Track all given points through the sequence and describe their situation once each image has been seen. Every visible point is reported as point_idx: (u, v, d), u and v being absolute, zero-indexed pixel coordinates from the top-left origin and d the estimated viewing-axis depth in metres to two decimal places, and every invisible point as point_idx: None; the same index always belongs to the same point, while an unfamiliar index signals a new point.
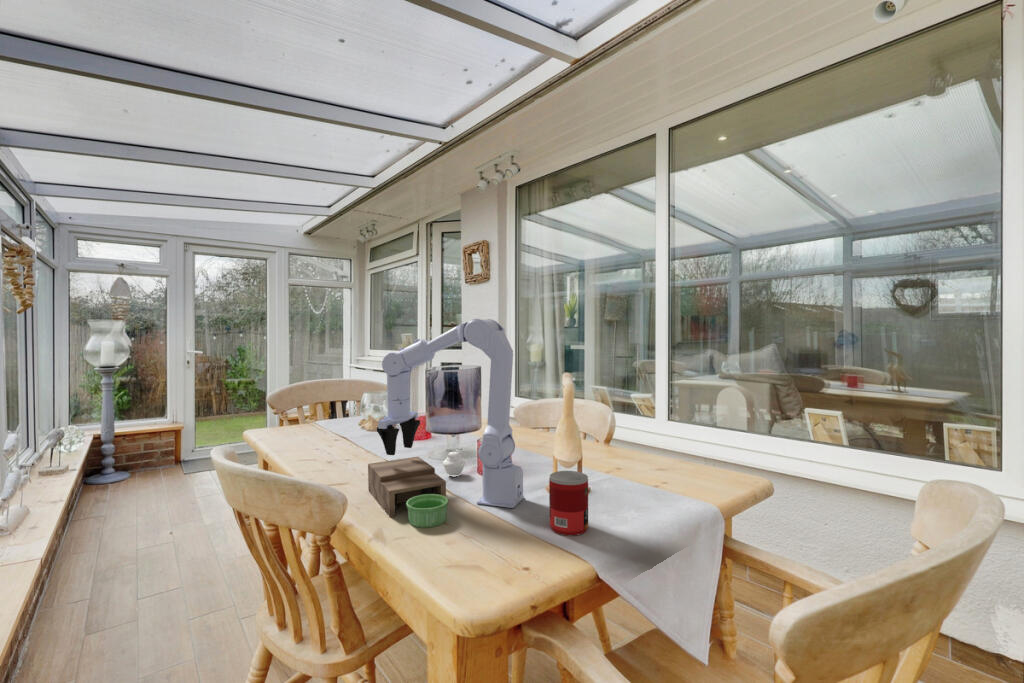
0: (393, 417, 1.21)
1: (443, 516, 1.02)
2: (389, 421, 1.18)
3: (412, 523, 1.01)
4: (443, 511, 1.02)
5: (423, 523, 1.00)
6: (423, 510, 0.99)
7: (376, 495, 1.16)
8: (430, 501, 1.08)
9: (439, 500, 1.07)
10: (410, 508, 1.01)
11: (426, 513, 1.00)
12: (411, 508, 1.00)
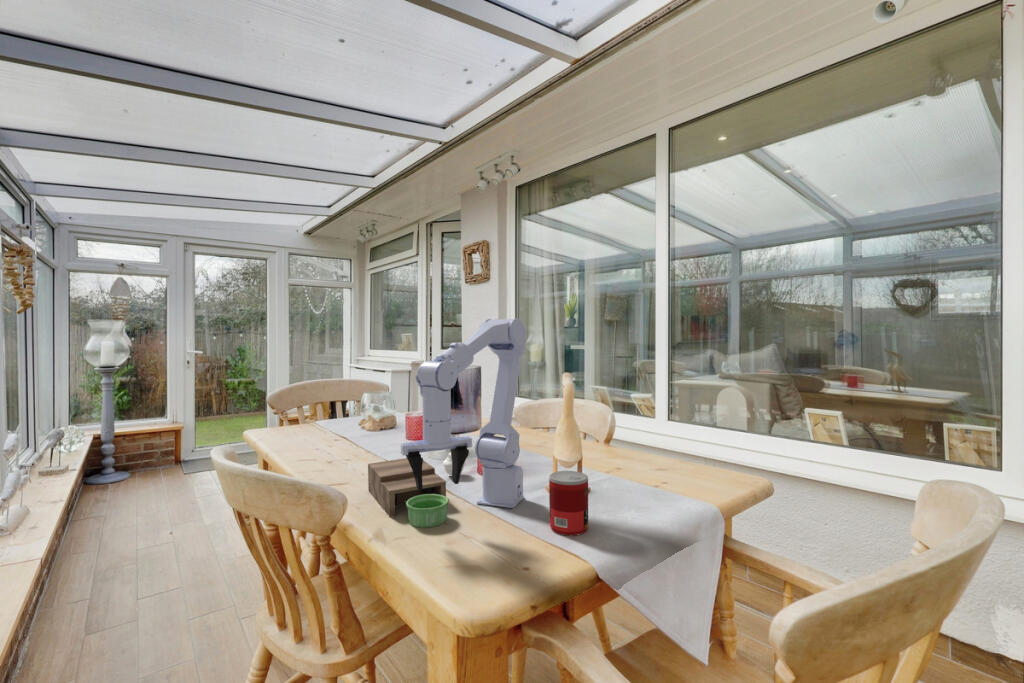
0: (423, 442, 0.96)
1: (443, 516, 1.02)
2: (411, 447, 0.94)
3: (412, 523, 1.01)
4: (443, 511, 1.02)
5: (423, 523, 1.00)
6: (423, 510, 0.99)
7: (376, 495, 1.16)
8: (430, 501, 1.08)
9: (439, 500, 1.07)
10: (410, 508, 1.01)
11: (426, 513, 1.00)
12: (411, 508, 1.00)
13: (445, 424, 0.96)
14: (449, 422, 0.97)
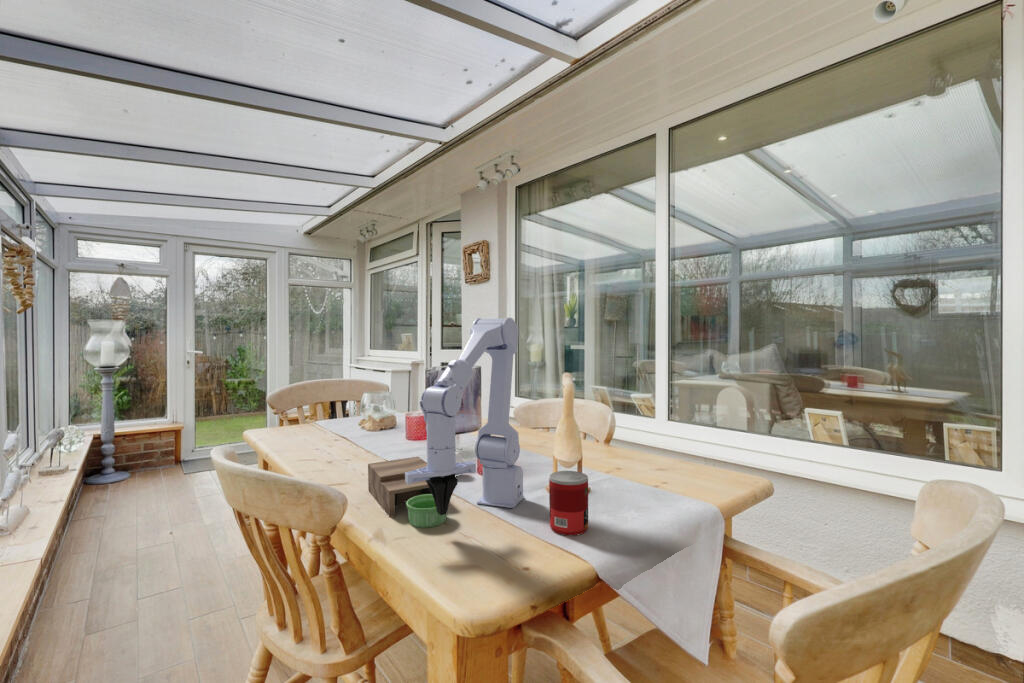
0: (428, 469, 0.94)
1: (443, 516, 1.02)
2: (416, 475, 0.92)
3: (412, 523, 1.01)
4: None
5: (423, 523, 1.00)
6: (423, 510, 0.99)
7: (376, 495, 1.16)
8: (430, 501, 1.08)
9: None
10: (410, 508, 1.01)
11: (426, 513, 1.00)
12: (411, 508, 1.00)
13: (451, 451, 0.94)
14: (454, 448, 0.95)
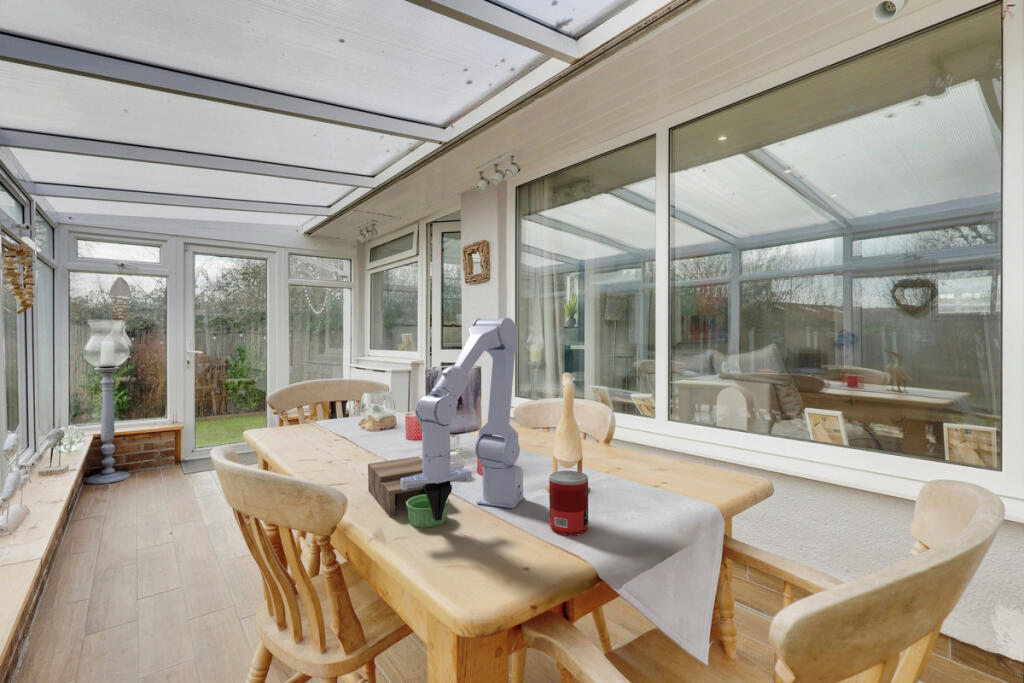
0: (423, 476, 0.97)
1: (443, 516, 1.02)
2: (410, 481, 0.95)
3: (412, 523, 1.01)
4: (443, 511, 1.02)
5: (423, 523, 1.00)
6: (423, 510, 1.00)
7: (376, 495, 1.16)
8: None
9: None
10: (410, 508, 1.01)
11: (426, 513, 1.00)
12: (411, 508, 1.00)
13: (444, 459, 0.96)
14: (448, 456, 0.98)
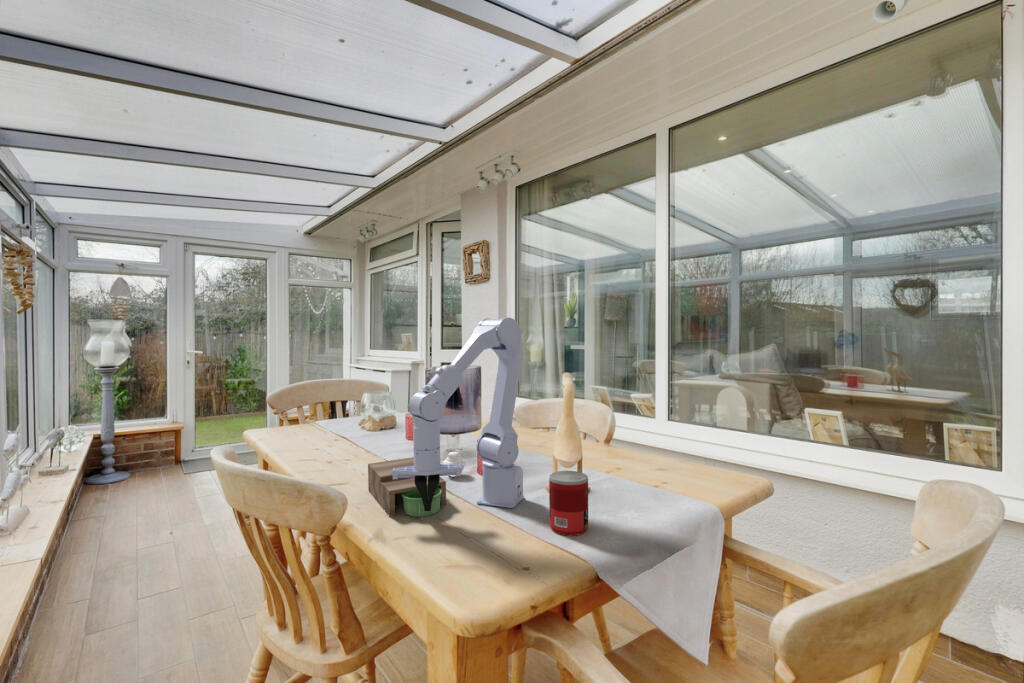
0: (413, 468, 1.03)
1: (436, 506, 1.07)
2: (400, 472, 1.02)
3: (406, 512, 1.07)
4: (435, 502, 1.07)
5: (416, 512, 1.05)
6: (416, 500, 1.05)
7: (376, 495, 1.16)
8: None
9: None
10: (404, 498, 1.06)
11: (419, 503, 1.05)
12: (405, 498, 1.06)
13: (431, 453, 1.01)
14: (436, 451, 1.02)
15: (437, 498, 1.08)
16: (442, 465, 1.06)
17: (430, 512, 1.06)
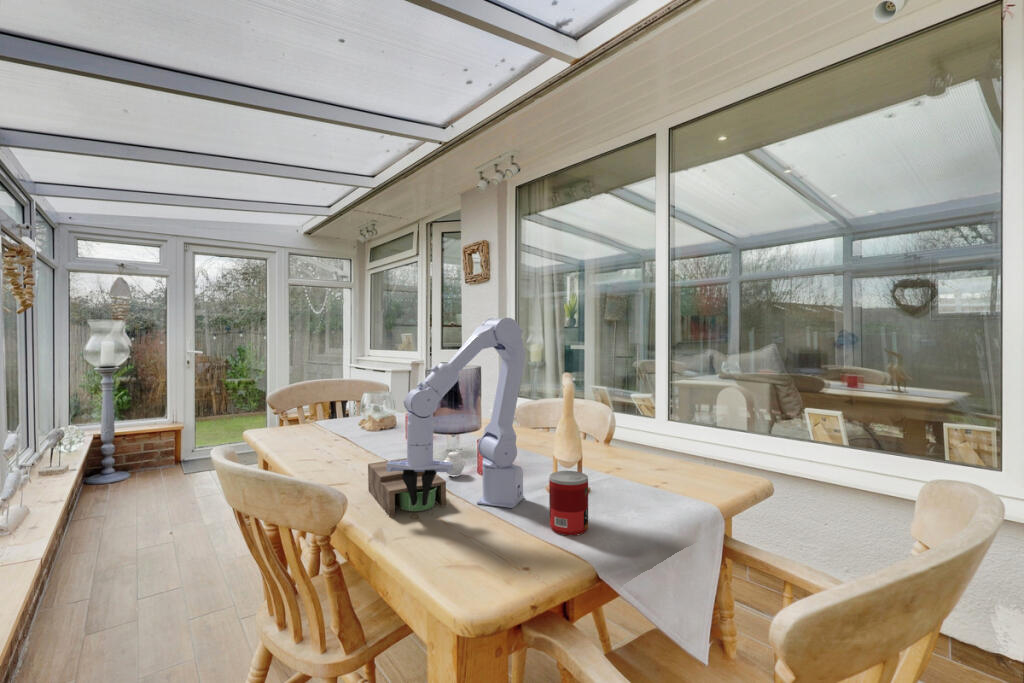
0: (406, 462, 1.06)
1: None
2: (393, 465, 1.05)
3: (400, 505, 1.10)
4: None
5: (406, 506, 1.08)
6: (406, 494, 1.08)
7: (376, 495, 1.16)
8: None
9: (432, 489, 1.14)
10: None
11: (409, 497, 1.08)
12: None
13: (421, 448, 1.03)
14: (427, 447, 1.04)
15: (428, 495, 1.09)
16: (436, 461, 1.08)
17: (420, 508, 1.08)
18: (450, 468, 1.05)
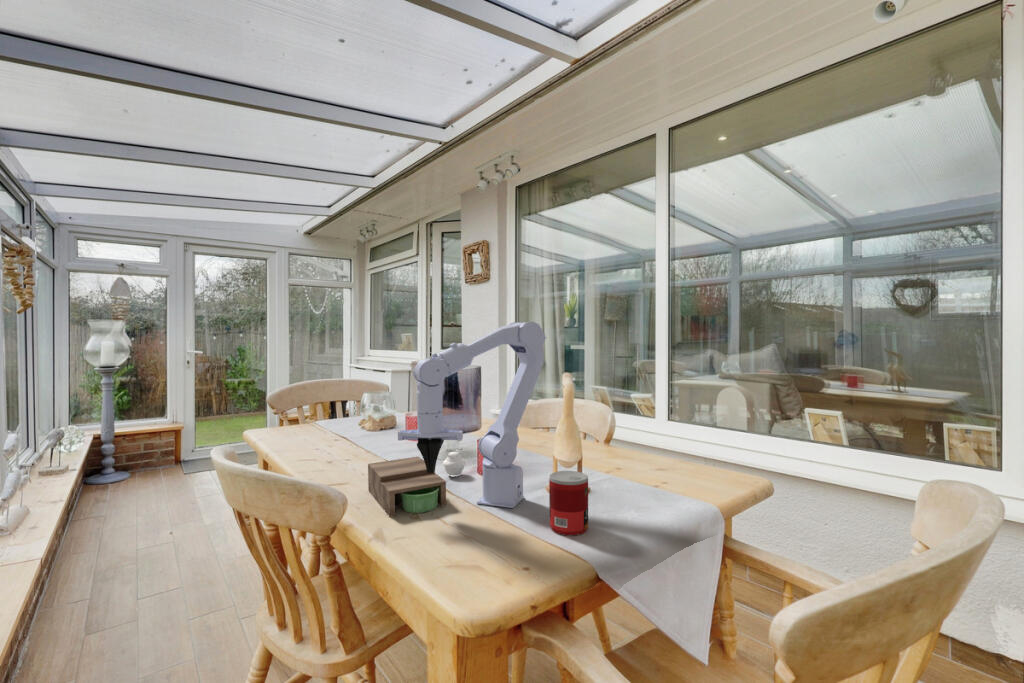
0: (417, 431, 1.08)
1: (431, 504, 1.09)
2: (404, 433, 1.07)
3: (403, 507, 1.10)
4: (431, 499, 1.09)
5: (411, 508, 1.08)
6: (410, 496, 1.07)
7: (376, 495, 1.16)
8: (426, 489, 1.15)
9: (433, 489, 1.14)
10: (401, 493, 1.09)
11: (413, 499, 1.07)
12: (401, 493, 1.09)
13: (431, 416, 1.05)
14: (437, 415, 1.06)
15: (432, 496, 1.09)
16: (446, 430, 1.09)
17: (425, 509, 1.08)
18: (460, 436, 1.06)
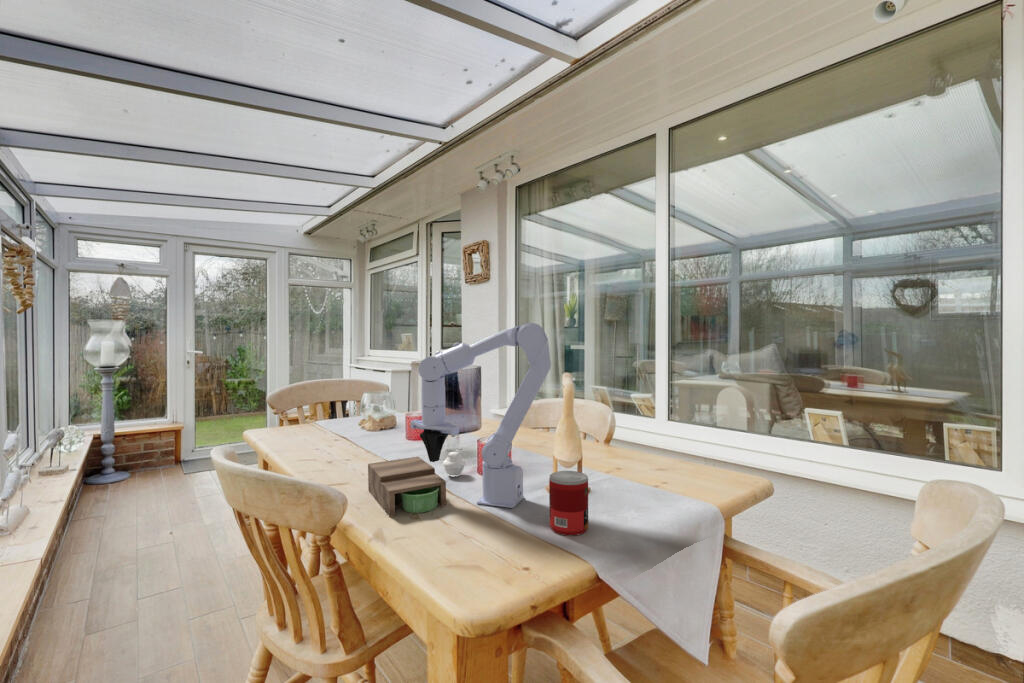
0: None
1: (431, 504, 1.09)
2: (414, 423, 1.19)
3: (403, 507, 1.10)
4: (431, 499, 1.09)
5: (411, 508, 1.08)
6: (410, 496, 1.07)
7: (376, 495, 1.16)
8: (426, 489, 1.15)
9: (433, 489, 1.14)
10: (401, 493, 1.09)
11: (413, 499, 1.07)
12: (401, 493, 1.09)
13: (428, 409, 1.14)
14: (434, 409, 1.14)
15: (432, 496, 1.09)
16: (448, 424, 1.16)
17: (425, 509, 1.08)
18: (452, 430, 1.12)
